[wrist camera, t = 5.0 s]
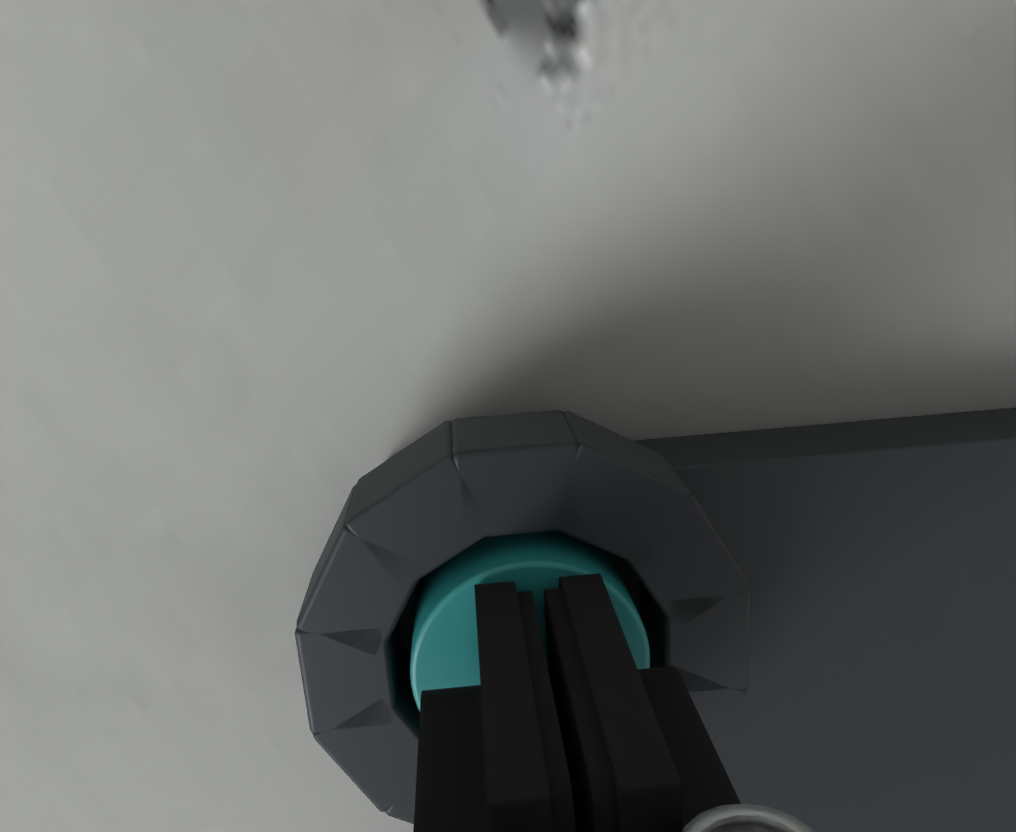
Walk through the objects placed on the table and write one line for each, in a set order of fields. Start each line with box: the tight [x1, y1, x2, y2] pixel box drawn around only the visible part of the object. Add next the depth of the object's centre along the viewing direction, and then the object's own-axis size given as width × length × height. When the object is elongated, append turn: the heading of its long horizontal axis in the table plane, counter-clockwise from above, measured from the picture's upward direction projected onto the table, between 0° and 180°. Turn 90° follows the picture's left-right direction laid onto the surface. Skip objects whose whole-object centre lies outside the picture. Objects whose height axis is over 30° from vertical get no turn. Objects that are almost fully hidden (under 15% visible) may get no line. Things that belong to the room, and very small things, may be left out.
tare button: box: [410, 530, 650, 711], centre depth 12 cm, size 3×3×2 cm
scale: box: [295, 408, 1016, 832], centre depth 14 cm, size 14×14×3 cm
